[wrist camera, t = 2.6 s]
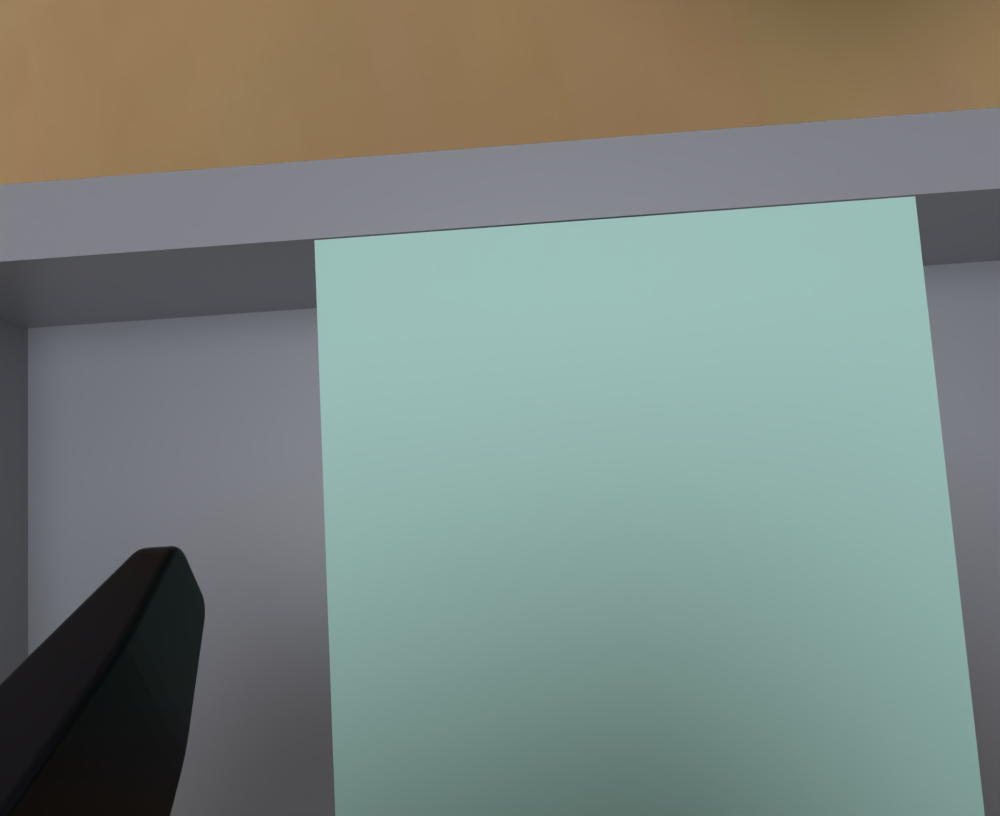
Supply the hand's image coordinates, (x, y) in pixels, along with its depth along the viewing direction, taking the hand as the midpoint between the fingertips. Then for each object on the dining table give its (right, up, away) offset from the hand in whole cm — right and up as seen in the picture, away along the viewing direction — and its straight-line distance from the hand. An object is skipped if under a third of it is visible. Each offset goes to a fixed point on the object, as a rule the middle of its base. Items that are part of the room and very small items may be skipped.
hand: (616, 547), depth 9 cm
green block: (0, -1, +8) cm, 8 cm away
